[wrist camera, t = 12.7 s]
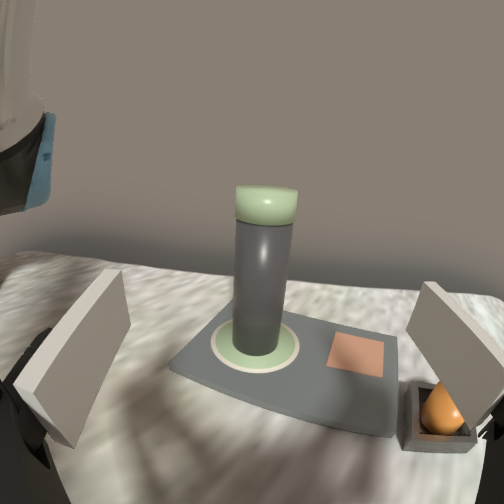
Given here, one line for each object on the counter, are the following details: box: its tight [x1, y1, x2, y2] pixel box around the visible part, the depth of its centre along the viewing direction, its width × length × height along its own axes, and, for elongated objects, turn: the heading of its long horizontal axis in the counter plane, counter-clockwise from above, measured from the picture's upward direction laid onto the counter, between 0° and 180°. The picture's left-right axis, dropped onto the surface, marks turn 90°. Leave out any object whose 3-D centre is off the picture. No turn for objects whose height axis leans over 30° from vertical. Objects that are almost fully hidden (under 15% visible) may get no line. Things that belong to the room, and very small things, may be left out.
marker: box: [232, 184, 298, 356], centre depth 21 cm, size 4×4×13 cm
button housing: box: [402, 381, 478, 453], centre depth 14 cm, size 6×6×2 cm
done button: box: [420, 381, 465, 436], centre depth 14 cm, size 4×4×2 cm
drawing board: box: [168, 299, 398, 438], centre depth 22 cm, size 18×12×1 cm, turn 67°
